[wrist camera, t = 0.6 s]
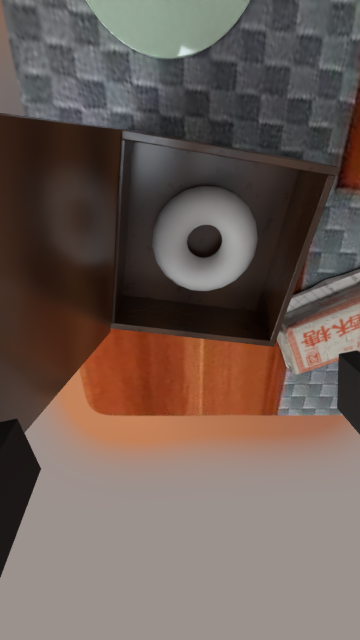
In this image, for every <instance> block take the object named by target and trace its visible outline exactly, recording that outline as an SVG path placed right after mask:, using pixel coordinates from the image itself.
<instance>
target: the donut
mask: <svg viewBox="0 0 360 640" xmlns="http://www.w3.org/2000/svg"><path fill="white" fill-rule="evenodd" d="M201 225H212V226H214V227H216V228H217V229H218V230H219V232H220V234H221V236H222V244H221V246H220V248H219V250H218V251H217V252H216V253H215V254H214V255H212V256H210V257H205V258H202V257H197V256H195V255H193V254H192V253H191V252H190V250H189V249H188V245H187V240H188V236H189V234H190V233H191V232H192V230H193V229H195V228H196V227H198V226H201ZM257 241H258V236H257V227H256V221H255V219H254V217H253V215H252V213H251V211H250V208H249V206H248V205H247V204H246V203H245V202H244V201H243V200H242V199H241V198H240V197H239V196H238V195H237V194H235V193H232V192H230V191H228V190H226V189H224V188H222V187H215V186H204V185H203V186H199V187H195V188H191V189H187V190H184V191H183V192H181V193H180V194H178V195H177V196H175V197H173V198H172V199H170V200H169V202H168V203H167V204H166V205H165V207H164V208H163V209H162V210H161V212H160V213H159V215H158V217H157V220H156V223H155V225H154V228H153V239H152V247H153V251H154V254H155V258H156V261H157V263H158V265H159V266H160V268H161V269H162V271H163V272H164V274H165V275H166V276H167V277H168V278H169V279H171V280H172V281H173V282H175V283H176V284H177V285H179V286H182V287H185V288H187V289H190V290H197V291H210V290H214V289H219V288H222V287H224V286H226V285H228V284H230V283H232V282H233V281H235V280H236V279H237V278H238V277H239V276H240V275H241V274H242V273H243V272H244V271H245V270H246V269H247V268H248V266H249V264H250V262H251V261H252V259H253V257H254V255H255V250H256V246H257Z"/></svg>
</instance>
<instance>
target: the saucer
mask: <svg viewBox="0 0 360 640" xmlns="http://www.w3.org/2000/svg"><path fill="white" fill-rule="evenodd" d="M86 1H87V3H88V4H89V6H90V8H91V9H92V11H93V13H94V14H95V15H96V17H97V18H98V19H99V21H100V22H101V23H102V25H103V26H104V27H105V28H106V29H107V30H108V31H109V32H110V33H111V34H112V35H113V36H114V37H115V38H116V39H118V40H119V41H120V42H121V43H123V44H124V45H125V46H127V47H129V48H130V49H132V50H134V51H135V52H138V53H140V54H143V55H145V56H148V57H152V58H156V59H164V60H175V59H183V58H187V57H191V56H194V55H196V54H199V53H201V52H203V51H205V50H207V49H208V48H210V47H211V46H213V45H215V44H216V43H217V42H218V41H219V40H220V39H222V38H223V37H224V36H225V35H226V34H227V33H228V32H229V31H230V30H231V29H232V27H233V26H234V25H235V24H236V22H237V21H238V20H239V18H240V17H241V15H242V14H243V13H244V11H245V9H246V8H247V6H248V4H249V2H250V0H86Z"/></svg>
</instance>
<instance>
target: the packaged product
mask: <svg viewBox="0 0 360 640" xmlns="http://www.w3.org/2000/svg"><path fill="white" fill-rule="evenodd" d="M277 341H278V343H279V346H280V348H281V351H282V354H283V357H284V360H285V364H286V367H288V368H289V369H290V370H292V371H293V372H294V373H295V374H300V373H304V372H306V371H309V370H313V369H316V368H319V367H323V366H325V365H328V364H331V363H333V362H336V361H339V354H340V353H345V352H350V351H355V350H358V351H359V352H360V269H358V270H355V271H352V272H350V273H347V274H344V275H340V276H336V277H333V278H329V279H326V280H324V281H322V282H320V283H319V284H317V285H315V286H314V287H312V288H310V289H308V290H305V291H303V292H300V293H297V294H295V295H292V298H291V301H290V304H289V306H288V309H287V312H286V315H285V317H284V320H283V323H282V326H281V328H280V331H279V334H278V337H277Z"/></svg>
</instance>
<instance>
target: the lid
mask: <svg viewBox="0 0 360 640" xmlns="http://www.w3.org/2000/svg"><path fill="white" fill-rule="evenodd" d="M120 142H121V129H116V128H111V127H103V126H95V125H88V124H80V123H73V122H65V121H57V120H50V119H42V118H34V117H27V116H19V115H11V114H4V113H0V422H2V421H7V420H12V419H18V421H19V423H20V425H21V427H22V429H23V431H24V433H25V431H26V430H27V429H28V428H29V427H30V425H32V423H33V422H34V421H35V420H36V419H37V417H38V416H39V415H40V414H41V413H42V412H43V410H44V409H45V408H46V407H47V406H48V405H49V403H50V402H51V401H52V400H53V399H54V397H55V396H56V395H57V394H58V393H59V392H60V390H61V389H62V388H63V387H64V386H65V384H66V383H67V382H68V381H69V380H70V379H71V377H72V376H73V375H74V374H75V373H76V372H77V370H78V369H79V368H80V367H81V366H82V364H83V363H84V362H85V361H86V360H87V359H88V357H89V356H90V355H91V354H92V353H93V352H94V350H95V349H96V348H97V347H98V346H99V344H100V343H101V342H102V341H103V340H104V339H105V337H106V336H107V335H108V334H109V333H110V330H111V311H112V292H113V274H114V255H115V236H116V217H117V198H118V180H119V161H120Z"/></svg>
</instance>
